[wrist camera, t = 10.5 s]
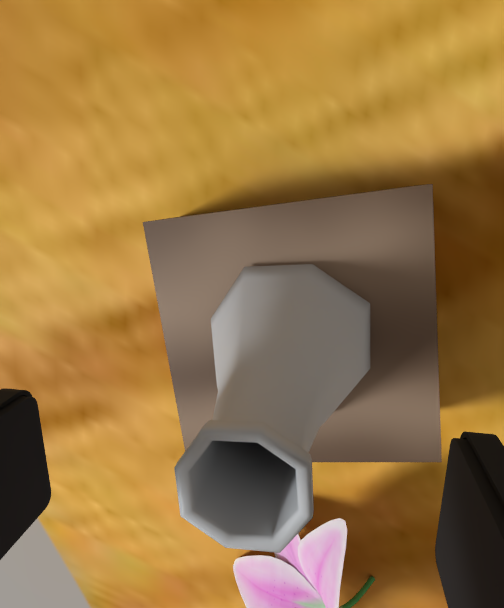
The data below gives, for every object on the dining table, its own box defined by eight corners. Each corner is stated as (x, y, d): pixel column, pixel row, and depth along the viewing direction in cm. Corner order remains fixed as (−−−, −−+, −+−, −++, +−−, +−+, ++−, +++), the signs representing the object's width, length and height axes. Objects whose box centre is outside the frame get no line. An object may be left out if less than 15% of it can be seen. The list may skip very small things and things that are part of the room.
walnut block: (182, 216, 23) (142, 222, 19) (410, 186, 21) (432, 184, 16) (214, 413, 26) (187, 461, 21) (420, 407, 24) (441, 462, 19)
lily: (374, 439, 25) (276, 519, 18) (505, 648, 22) (450, 851, 15) (255, 497, 32) (150, 572, 25) (339, 662, 29) (247, 804, 22)
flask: (230, 239, 18) (115, 292, 9) (398, 287, 17) (475, 404, 8) (195, 386, 20) (71, 558, 11) (343, 435, 19) (351, 668, 10)
